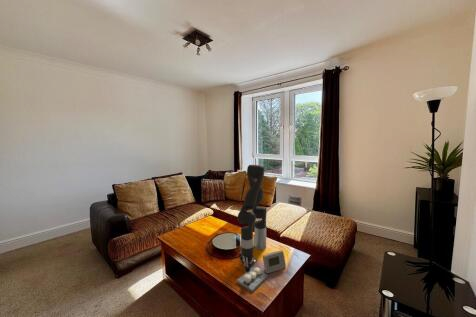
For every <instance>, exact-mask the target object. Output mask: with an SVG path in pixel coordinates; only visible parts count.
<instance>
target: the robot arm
mask: <svg viewBox="0 0 476 317" xmlns="http://www.w3.org/2000/svg"><path fill="white" fill-rule="evenodd" d="M246 174H247V179H248V183H249V189H248V191H246V194H245V197H244V201H243V205H242V206H241V209H240V210H239V212H238V214H237V222H238V223H239V224H242V225H244V226H242V227H241V228H240V252H239V253H238V258H239V259H240V262H241V263H242V265H244V273H246V272H247V273H248V272H249V271H250V269H251V268H252V267H254V265H255V264H256V263H257V262H258V260H257V259H255V258H254V252H255V251H254V248H255V249H257V250H261V251H262V250H263V251H264V250H265V249H267V211H268V210H267V208H266V207H265V206H258V205H260V203H261V202H262V201H263V200H264V190H263V189H264V188H263V187H262V183H263V179H264V176H265V166H263V165H259V164H249V165H247V169H246ZM249 210H251V212H250V211H249ZM257 219H258V220H257ZM259 219H260V220H259ZM256 220H257V221H256Z"/></svg>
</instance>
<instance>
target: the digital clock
mask: <svg viewBox="0 0 476 317" xmlns="http://www.w3.org/2000/svg"><path fill="white" fill-rule="evenodd" d="M285 259H286V258H285V253H284V251H283V249H282V250H277V251H273V252H270V253H267V254H263V256H262V261H263V267H264V273H265V274H270V273H273V272H277V271H280V270H282V269H284V268H286V267H287V264H286V260H285Z"/></svg>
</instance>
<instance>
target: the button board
mask: <svg viewBox="0 0 476 317" xmlns="http://www.w3.org/2000/svg"><path fill="white" fill-rule="evenodd" d="M254 268H255V266H252V267H250V271H249V272H248V273H247V272H244V274H242V275H241V276H240V277H239V278H237V279H236V282H237V284H239V285H240V286H242V287H244V288H245V289H247V291H249V292H251V293H254V292H255V290H257V288H258V287H259V286H261V285H262V284H263V283H264V282H265V281H266V279H268V277H269V275H268V273H266V272H264V271H262V270H261V274H260V275H259V276H257V275H256V278H255V280H254V281H253V280H251V281H250V283H249V284H246V283H245V281H244V275H245V274H249V273H250V272H254Z"/></svg>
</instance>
